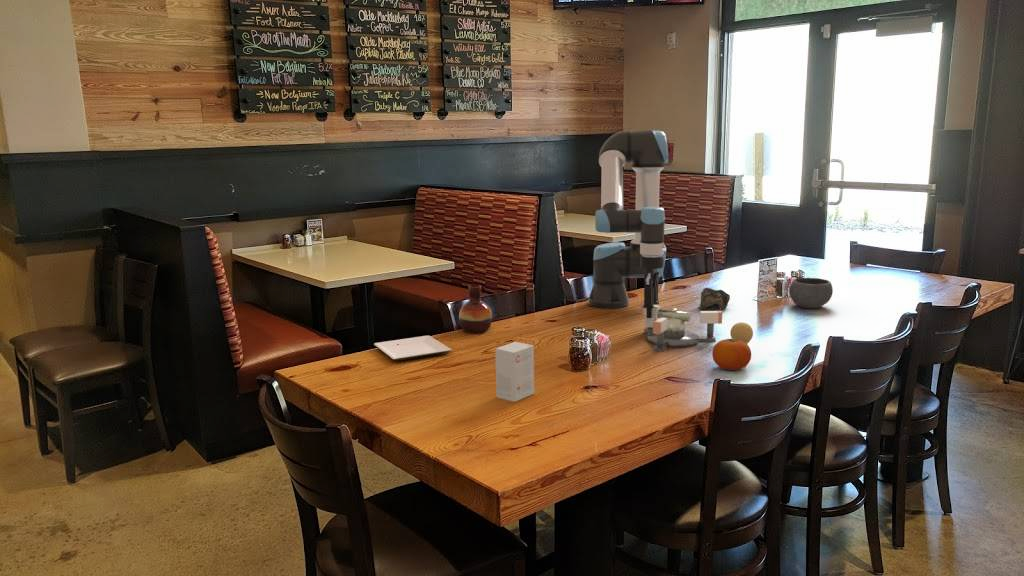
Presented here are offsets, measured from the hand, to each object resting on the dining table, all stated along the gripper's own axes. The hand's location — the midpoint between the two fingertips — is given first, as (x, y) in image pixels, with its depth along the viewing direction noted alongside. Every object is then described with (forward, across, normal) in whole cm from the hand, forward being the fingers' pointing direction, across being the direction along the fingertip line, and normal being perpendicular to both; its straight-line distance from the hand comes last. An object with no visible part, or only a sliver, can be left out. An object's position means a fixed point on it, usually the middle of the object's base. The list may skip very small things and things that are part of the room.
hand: (650, 325), depth 256 cm
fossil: (+3, +42, -15) cm, 44 cm away
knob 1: (+1, 0, 0) cm, 1 cm away
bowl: (+3, +53, -48) cm, 72 cm away
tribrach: (+2, -10, -8) cm, 13 cm away
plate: (+2, -45, +64) cm, 79 cm away
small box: (+2, -71, +20) cm, 74 cm away
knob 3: (+1, -4, -20) cm, 20 cm away
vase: (+2, -16, +56) cm, 58 cm away
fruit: (+2, -31, -29) cm, 42 cm away
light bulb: (+2, -18, -30) cm, 35 cm away
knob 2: (+1, -19, -7) cm, 20 cm away
